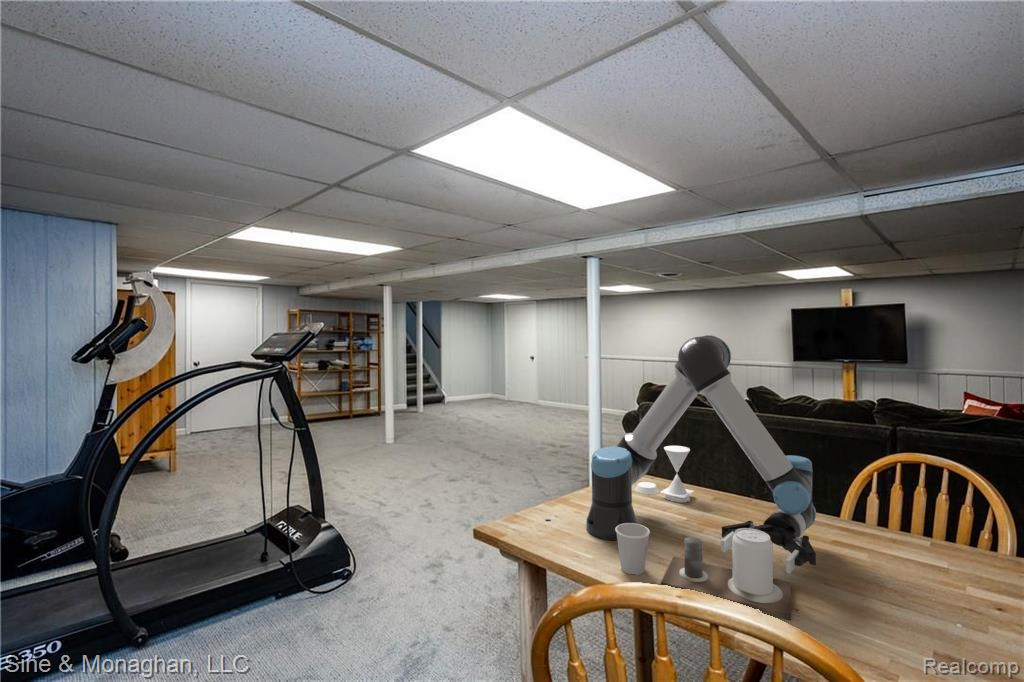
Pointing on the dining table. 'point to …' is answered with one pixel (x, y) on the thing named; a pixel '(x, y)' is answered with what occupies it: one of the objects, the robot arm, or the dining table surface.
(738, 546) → the beverage can
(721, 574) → the board
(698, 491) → the dining table surface
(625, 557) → the dixie cup
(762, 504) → the dining table surface
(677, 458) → the white plastic pieces
